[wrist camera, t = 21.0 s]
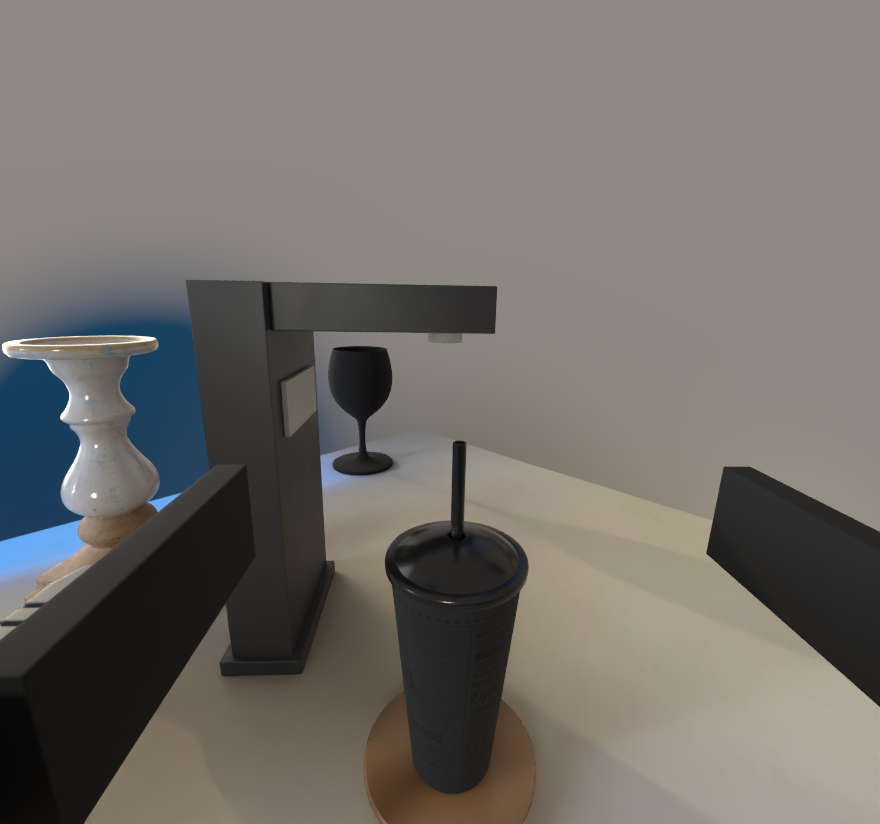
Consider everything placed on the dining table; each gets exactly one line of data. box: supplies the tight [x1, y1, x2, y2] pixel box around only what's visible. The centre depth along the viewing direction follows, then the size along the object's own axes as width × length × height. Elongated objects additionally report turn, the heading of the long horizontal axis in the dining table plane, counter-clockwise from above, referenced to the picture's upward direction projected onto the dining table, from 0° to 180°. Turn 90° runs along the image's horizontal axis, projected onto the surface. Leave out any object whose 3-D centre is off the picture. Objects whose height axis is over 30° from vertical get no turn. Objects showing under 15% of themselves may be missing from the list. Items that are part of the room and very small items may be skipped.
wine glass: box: [328, 346, 393, 475], centre depth 72 cm, size 10×10×20 cm
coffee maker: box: [186, 280, 497, 676], centre depth 35 cm, size 20×13×28 cm, turn 93°
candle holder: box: [2, 336, 160, 602], centre depth 39 cm, size 11×11×24 cm
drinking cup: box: [385, 441, 528, 794], centre depth 24 cm, size 8×8×20 cm
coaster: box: [364, 691, 535, 824], centre depth 26 cm, size 10×10×1 cm
